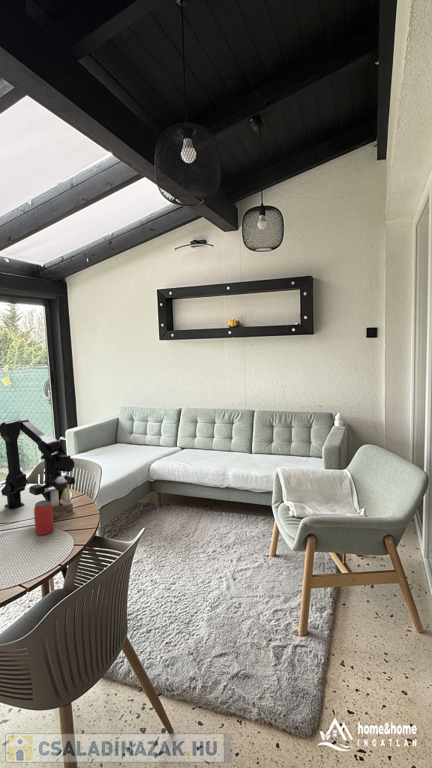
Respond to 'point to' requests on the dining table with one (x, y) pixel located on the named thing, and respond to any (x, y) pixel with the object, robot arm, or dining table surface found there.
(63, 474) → the supplement bottle
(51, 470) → the robot arm
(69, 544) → the dining table surface
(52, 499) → the peg
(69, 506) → the socket
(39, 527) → the beer can
